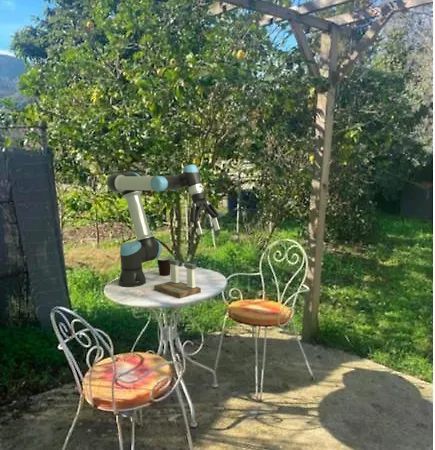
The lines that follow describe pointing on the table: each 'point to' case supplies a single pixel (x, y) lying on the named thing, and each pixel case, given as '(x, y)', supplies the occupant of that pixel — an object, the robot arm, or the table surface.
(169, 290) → the wooden base board
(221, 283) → the table surface
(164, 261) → the coffee mug
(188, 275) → the lever
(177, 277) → the lever
